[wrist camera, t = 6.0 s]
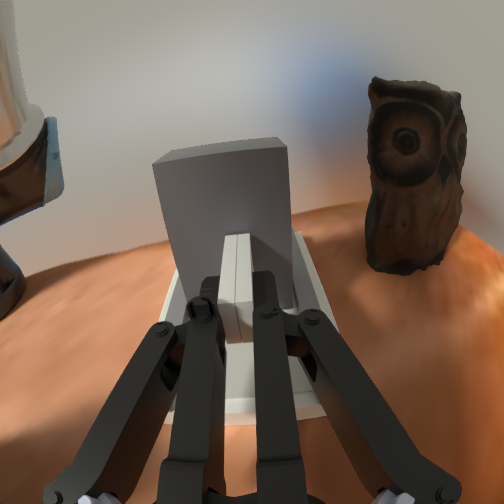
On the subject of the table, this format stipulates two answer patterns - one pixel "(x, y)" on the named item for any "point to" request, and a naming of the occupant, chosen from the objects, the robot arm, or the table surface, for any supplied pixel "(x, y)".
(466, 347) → the table surface
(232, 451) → the table surface
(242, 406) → the white flat rectangular tray
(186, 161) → the grey rectangular block
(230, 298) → the robot arm
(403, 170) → the owl
